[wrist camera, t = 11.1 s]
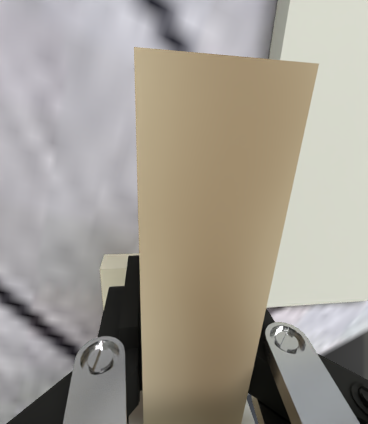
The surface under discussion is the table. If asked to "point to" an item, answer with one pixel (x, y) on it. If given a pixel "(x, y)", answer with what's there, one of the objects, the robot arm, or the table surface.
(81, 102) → the table surface
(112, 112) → the table surface
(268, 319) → the robot arm
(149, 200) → the beige upright post
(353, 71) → the white rectangular board
